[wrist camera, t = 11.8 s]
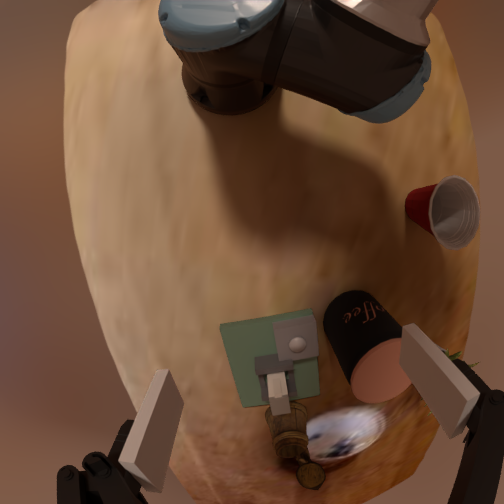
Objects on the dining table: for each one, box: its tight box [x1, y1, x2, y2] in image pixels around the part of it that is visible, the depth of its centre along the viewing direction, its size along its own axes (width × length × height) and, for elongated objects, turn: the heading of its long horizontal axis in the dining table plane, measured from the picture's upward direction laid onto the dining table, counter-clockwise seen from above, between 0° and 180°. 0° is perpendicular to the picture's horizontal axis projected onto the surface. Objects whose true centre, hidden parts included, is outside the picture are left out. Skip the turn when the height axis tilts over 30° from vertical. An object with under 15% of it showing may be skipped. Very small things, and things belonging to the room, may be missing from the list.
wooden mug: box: [265, 401, 326, 490], centre depth 46 cm, size 9×14×18 cm, turn 38°
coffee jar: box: [323, 290, 412, 403], centre depth 39 cm, size 11×11×18 cm
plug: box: [267, 371, 291, 416], centre depth 44 cm, size 5×3×10 cm, turn 11°
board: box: [220, 308, 320, 407], centre depth 48 cm, size 20×16×6 cm
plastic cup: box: [405, 175, 480, 250], centre depth 37 cm, size 11×11×12 cm
